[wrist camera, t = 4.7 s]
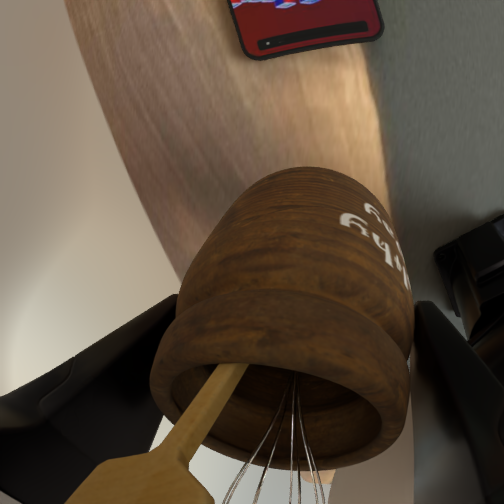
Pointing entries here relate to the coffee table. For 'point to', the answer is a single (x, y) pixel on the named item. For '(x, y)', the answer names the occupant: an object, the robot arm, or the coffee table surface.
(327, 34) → the smartphone
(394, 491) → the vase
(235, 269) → the utensil holder
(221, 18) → the coffee table surface
